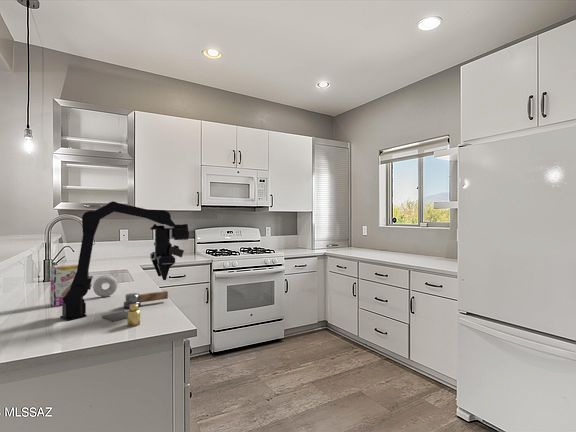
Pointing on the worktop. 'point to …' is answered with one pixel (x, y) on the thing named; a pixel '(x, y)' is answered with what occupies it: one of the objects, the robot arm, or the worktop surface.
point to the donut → (105, 292)
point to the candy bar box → (61, 282)
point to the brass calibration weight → (133, 316)
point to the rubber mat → (116, 316)
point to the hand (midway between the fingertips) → (162, 278)
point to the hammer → (144, 298)
